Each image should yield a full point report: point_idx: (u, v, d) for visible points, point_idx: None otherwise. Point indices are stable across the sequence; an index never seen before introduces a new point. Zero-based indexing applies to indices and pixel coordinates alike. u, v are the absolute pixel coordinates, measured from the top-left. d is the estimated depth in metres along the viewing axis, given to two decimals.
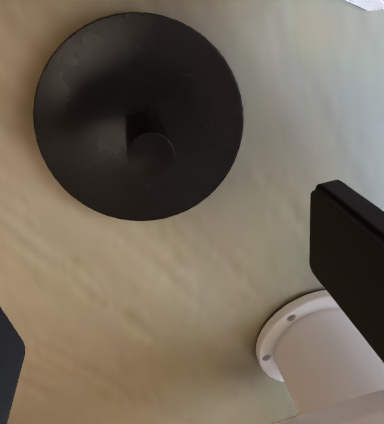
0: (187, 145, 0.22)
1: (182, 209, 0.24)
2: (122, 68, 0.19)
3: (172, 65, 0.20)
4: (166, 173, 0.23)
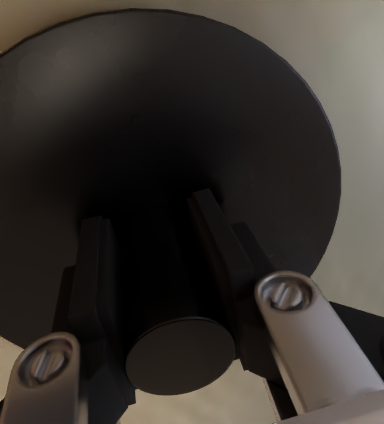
0: None
1: None
2: (112, 129, 0.09)
3: (216, 119, 0.09)
4: None
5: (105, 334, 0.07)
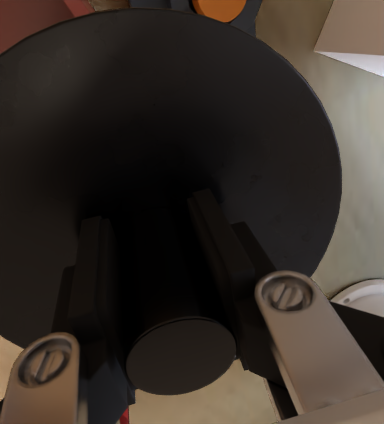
0: None
1: None
2: (112, 128, 0.09)
3: (217, 119, 0.09)
4: None
5: (105, 334, 0.07)
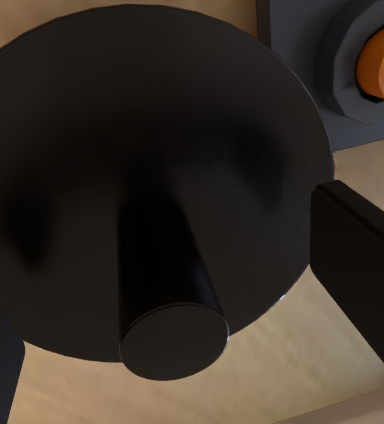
0: (230, 248, 0.12)
1: None
2: (108, 122, 0.09)
3: (211, 113, 0.10)
4: None
5: None
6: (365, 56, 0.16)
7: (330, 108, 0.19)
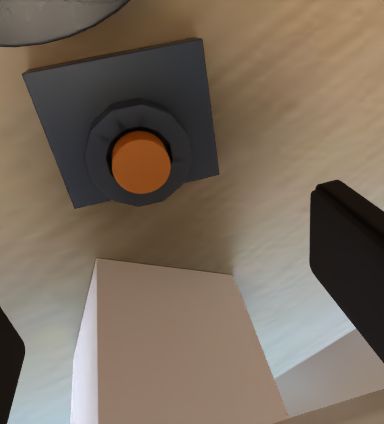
0: None
1: None
2: None
3: None
4: None
5: None
6: (144, 133, 0.19)
7: (94, 121, 0.19)
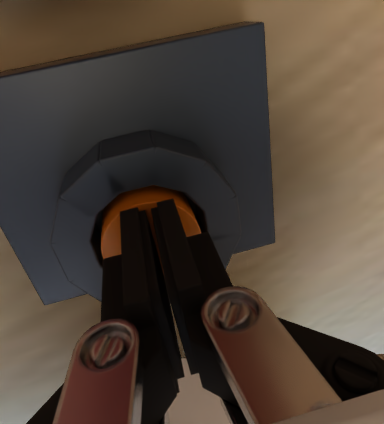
0: None
1: None
2: None
3: None
4: None
5: (157, 322, 0.07)
6: None
7: (68, 174, 0.11)
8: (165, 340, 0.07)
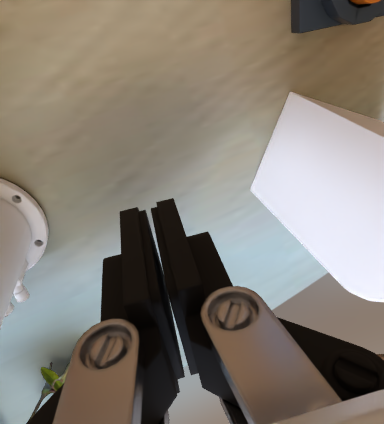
0: None
1: None
2: None
3: None
4: None
5: (157, 322, 0.07)
6: None
7: None
8: (165, 340, 0.07)
